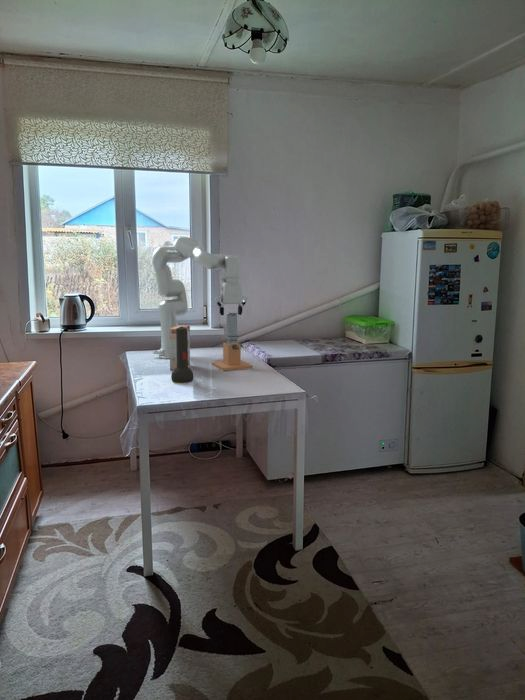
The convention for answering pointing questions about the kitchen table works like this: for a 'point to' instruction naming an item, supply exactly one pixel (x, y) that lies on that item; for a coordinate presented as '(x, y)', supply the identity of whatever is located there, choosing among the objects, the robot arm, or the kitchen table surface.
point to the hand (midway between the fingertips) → (230, 314)
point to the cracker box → (173, 346)
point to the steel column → (231, 328)
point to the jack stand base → (231, 358)
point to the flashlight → (182, 358)
